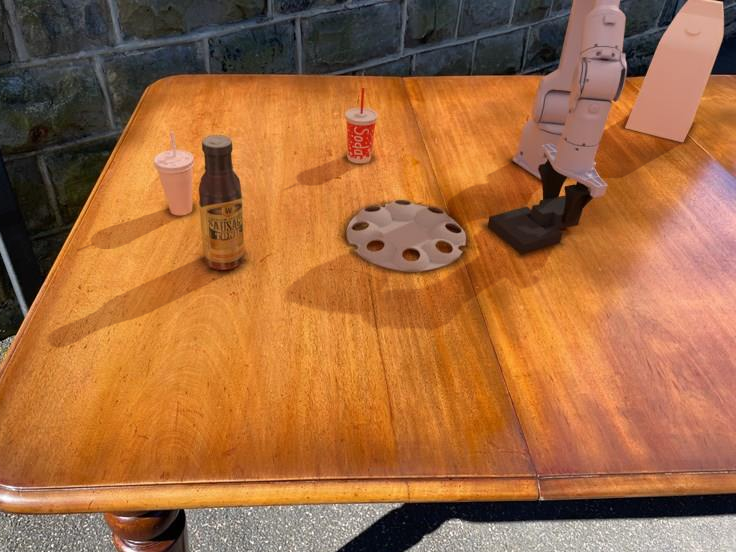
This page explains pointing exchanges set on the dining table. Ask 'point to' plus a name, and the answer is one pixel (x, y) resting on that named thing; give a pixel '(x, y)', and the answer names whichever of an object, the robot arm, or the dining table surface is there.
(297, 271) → the dining table surface
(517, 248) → the black pad
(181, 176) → the smoothie
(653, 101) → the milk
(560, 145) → the robot arm
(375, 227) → the paint palette
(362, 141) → the beverage cup
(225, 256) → the sauce bottle
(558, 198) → the black notched block
